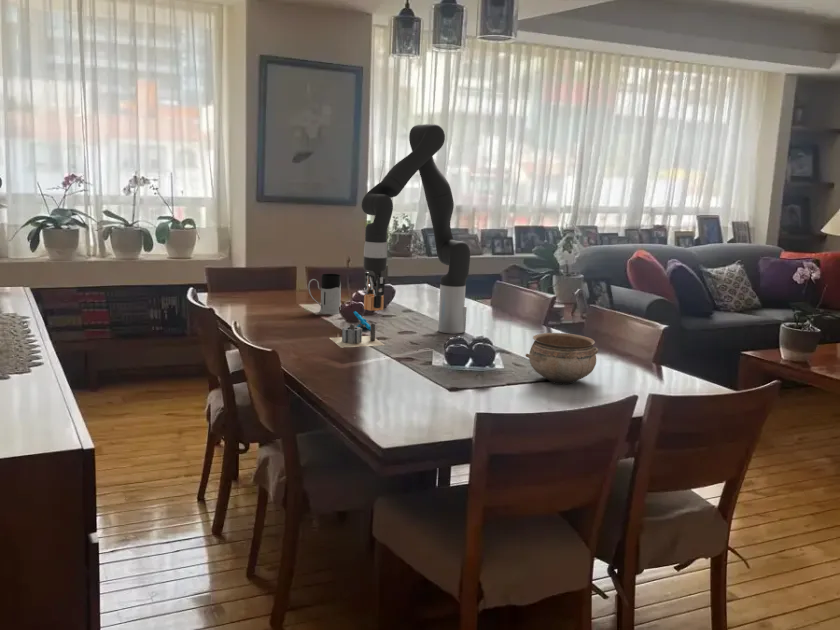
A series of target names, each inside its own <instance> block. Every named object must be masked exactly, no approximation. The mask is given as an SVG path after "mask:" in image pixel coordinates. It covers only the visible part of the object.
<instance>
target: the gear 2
mask: <svg viewBox="0 0 840 630" xmlns="http://www.w3.org/2000/svg"><path fill="white" fill-rule="evenodd" d="M384 297H385V294H384V295H383V296H382V297H381V307H380V308H374V294H367V293H366V294H364V297H363V309H364V310H367V311H374V312H376V311H377V312H378V311H384V301H385V300H384Z"/></svg>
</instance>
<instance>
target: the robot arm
mask: <svg viewBox="0 0 840 630" xmlns="http://www.w3.org/2000/svg"><path fill="white" fill-rule="evenodd" d="M408 139H409V145H410V148H411V152H410V153H409V154H408V155H406V156H405V157H403V158H402V159H401V160H399V161H398V162H396V163H395V165H393V166H392V167H391V169H389V171H388V172H387V173H386V175H385V176H384V178H383V179H382V180H381V181H379V183H377V184H376V185H375V186H373V187H372V188H371V189H370V190H369V191H368V192H366V194H364V197H362V201H361V209H362V212H364V213H365V214H366V215H369V216H374V218H373V222H370V223H368V224H367V225H366V226H365V235H364V240H365V241H364V246H363V267H362V268H363V270H365V271H364V290H365V292H366V294H374V308H380V307H381V297H382V296H383V295H384V296H385V285H386V284H385V283H386V277H383V276H382V272H384V271H386V270H387V266H388V265H387V262H388V245H387V244H388V242H387V241H388V240H387V239H388V236H387V235H388V228H389V226H390V223H391V222H390V221H391V220H392V219H391V218H392V215H393V210H394V202H393V199H392V198H395V197H397V196H399V195H400V194H401V191H403V189H404V188H405V187H406V185H407V184H408V183H409V181H411V179H412V178H413V177H414V175H415V174H416V173H417V172H419V176H420V180H421V183H422V186H423V191H424V195H425V200H426V201H425V202H426V204H427V208H428V212H429V215H430V221H431V225H432V230H433V236H434V243H435V250H436V251H435V252H436V255H437V258H438V260H439V261H440V262H441V263H442V264H443V265H446V266H448V271H447V273H446V274H444V275H442V276H441V277H440V282H439V283H440V284H439V304H438V321H437V322H438V323H437V325H438V326H437V332H440V333H444V334H462V333H466V326H467V325H466V324H467V309H468V307H467V306H466V305H465V303H466V285H467V284H466V283H467V280H468V277H469V272H470V265H471V264H470V263H471V262H470V261H471V251H470V249H471V248H470V247H469V245H468V243H466V242H464V241H460V240H455V239H454V237H453V232H452V229H451V228H452V227H451V220H452V216H453V212H454V208H455V206H454V205H455V202H454V197H453V193H452V189H451V185H450V183H449V182H448V180H447V178H446V177H445V176H444V174H443V173H442V172H441V170H440V169H439V168H438V166H437V165H436V162H435V159H434V157H433V156H434V155H435V154H437V153H438V152H439V151H440V150H441V149H442V147H443V145H444V143H445V140H446V135H445V131H444V129H443V127H441V126H440V125H438V124H435V123H425V124H417V125H414V126H412V127H411V129H410V131H409V136H408Z"/></svg>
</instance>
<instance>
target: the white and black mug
mask: <svg viewBox="0 0 840 630" xmlns="http://www.w3.org/2000/svg"><path fill="white" fill-rule="evenodd" d="M313 281H315V282H317V283H316V284H317V288H318V290H320V302H319V301H317V300H316V299H315V298H314V297H313V295H312V292H311V286H310V285H311V282H313ZM341 287H342V283H341V274H339V273H322V274H321V286H320V282H319V281H318V280H317V279H315V278H312V279H310V280H309V282H308V287H307V290H308V293H309V295H310V297H311V298H312V300H314V301H315V302H316V303H317V304H318V305H319V306H320V309H319V313H320V314H323V315H339V314H340V313H339V306H340V307H341V301H342V300H341V298H342V297H341V293H342V290H341Z"/></svg>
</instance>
